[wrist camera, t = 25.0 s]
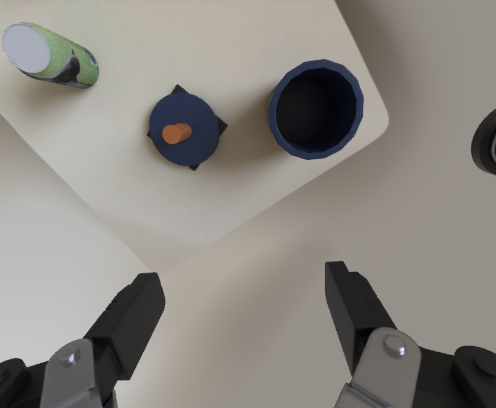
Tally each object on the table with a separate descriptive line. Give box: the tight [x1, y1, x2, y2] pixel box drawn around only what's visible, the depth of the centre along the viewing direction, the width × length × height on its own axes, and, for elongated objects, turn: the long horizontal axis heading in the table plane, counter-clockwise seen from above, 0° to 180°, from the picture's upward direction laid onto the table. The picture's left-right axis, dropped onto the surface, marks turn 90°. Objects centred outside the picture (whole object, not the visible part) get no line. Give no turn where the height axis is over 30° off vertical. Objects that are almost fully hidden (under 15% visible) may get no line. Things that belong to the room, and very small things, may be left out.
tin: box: [267, 59, 364, 160], centre depth 33 cm, size 11×11×12 cm
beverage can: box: [2, 22, 99, 88], centre depth 33 cm, size 6×7×12 cm
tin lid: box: [150, 93, 220, 166], centre depth 37 cm, size 12×12×7 cm
